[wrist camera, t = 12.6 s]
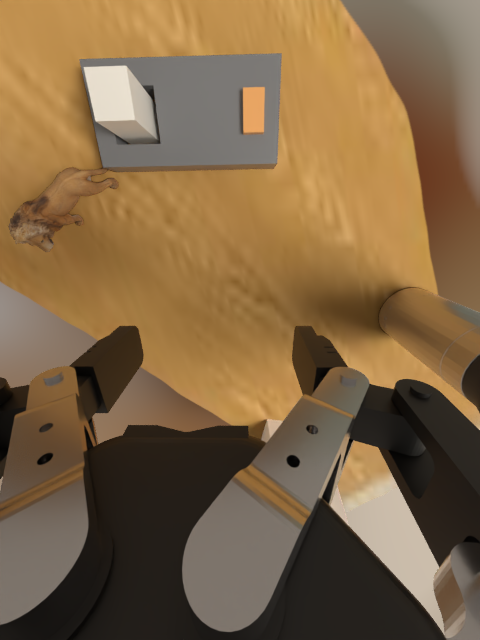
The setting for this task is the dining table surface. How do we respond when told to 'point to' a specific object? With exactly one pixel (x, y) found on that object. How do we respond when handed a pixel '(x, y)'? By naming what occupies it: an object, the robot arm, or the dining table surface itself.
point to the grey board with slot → (200, 113)
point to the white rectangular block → (122, 104)
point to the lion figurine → (55, 207)
